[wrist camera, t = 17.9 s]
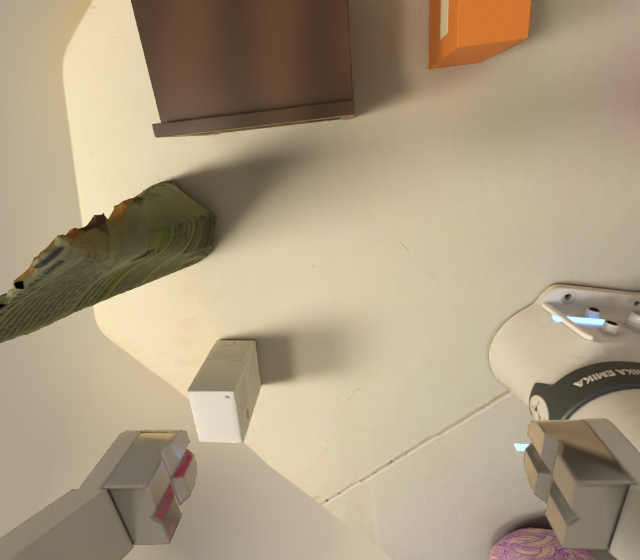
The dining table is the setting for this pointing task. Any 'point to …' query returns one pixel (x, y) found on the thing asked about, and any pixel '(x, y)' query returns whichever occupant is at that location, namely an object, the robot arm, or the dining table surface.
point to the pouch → (109, 258)
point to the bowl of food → (534, 547)
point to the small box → (225, 391)
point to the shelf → (245, 63)
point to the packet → (475, 29)
